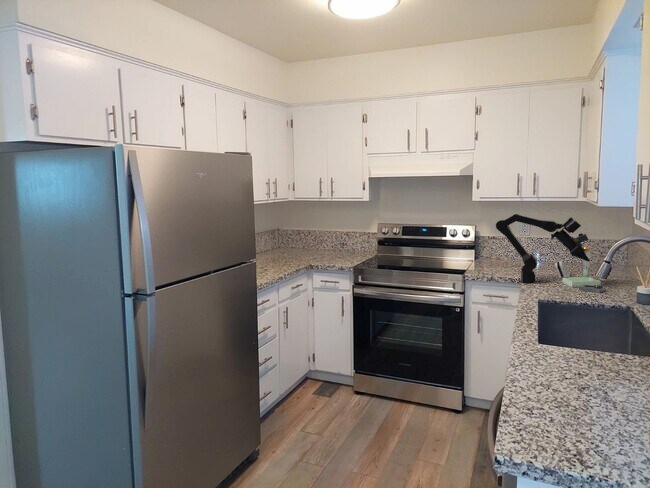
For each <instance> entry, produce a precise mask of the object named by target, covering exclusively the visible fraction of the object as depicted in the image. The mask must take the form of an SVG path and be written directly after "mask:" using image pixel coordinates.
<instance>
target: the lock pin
mask: <svg viewBox="0 0 650 488" xmlns="http://www.w3.org/2000/svg"><path fill="white" fill-rule="evenodd" d="M582 247H583V248H584V253H585V254H586V256H587V257H588V258H589V259H590V257H591V256H590V253H591V250H592V247H591V246H582ZM590 261H591V259H590ZM590 261H589V262H588V261H585V260H583V259H582V277H590V264H591V263H590Z"/></svg>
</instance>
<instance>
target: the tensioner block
mask: <svg viewBox="0 0 650 488" xmlns="http://www.w3.org/2000/svg"><path fill="white" fill-rule="evenodd" d="M578 291H580V292H588V293H589V292H590V293H595V294H596V293H597V294H600V293H604V292H606V291H607V288H606V286H603V285H602V284H601V285H582V286H579V287H578Z"/></svg>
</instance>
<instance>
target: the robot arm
mask: <svg viewBox="0 0 650 488" xmlns="http://www.w3.org/2000/svg"><path fill="white" fill-rule="evenodd" d="M515 222H517V223H522V224H526V225H529V226H534V227H537V228H539V229H541V230H544V231H545V232H549V233H550V239H551V240H553V239H556V240H558V241H559V243H561V245H562V246H563V247H565V248H566V249H567V250H568V251H569V254H570V256H572V257H575V258H578V259H580V260H582V261H583V260H585V261H588V262H589V261H591V259H589V258H588V257H587V256H586V254H585V253H584V248H583V247H584V246H583V243H582V242H586V241H588V240H589V238H588V236H587V234H586V233H582V232H580V233H579V234H578V235H577V236H576V237H574V236H572V235H571V233H572V234H574V233H575V232H576V231H578V229H579V228H581V227H582V224H581V223H579V222H578V221H577V220H576V219H574V218H573V217H569V218H568V220H567V221H565V222H564V223H559V222H558V223H557V221H554V220H545V219H537V218H533V217H528V216H526V215H521V214H519V213H515V214H513V215H511V216H509V217H507V218H506V219H500V220H498V221H497V222H496V223H495V229H496V230H498V231H499V232H500V233H501V234H502V235H503V236H505V237H506V239H507V240H508V241H509V243H510V244H511V246H513V248H514V249H515V250H516V251H517V253H518V254H519V256H520V257H521V260H522V262H523V264H524V265H523V266H522V267H521V271H520V280H519V282H520V283H522V284H536V274H535V271H534V270H535V269H536V268H537V266H538V264H539V263H538V258H536V256H535V254H534V253H531V254H530V253H529V252H528V251H527V250H526V248H525V247H524V246H523V244H522V243H521V242H520V241H519V240H518V238H517V237H516V236H515V234H514V233H513V231H512V228H511V227H510V225H512V224H515Z"/></svg>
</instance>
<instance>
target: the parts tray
mask: <svg viewBox="0 0 650 488" xmlns="http://www.w3.org/2000/svg"><path fill="white" fill-rule="evenodd" d="M561 280H562V282H561V283H562V285H563V284H564V285H566V286H567V287H570V288H579V286H582V285H602V284H601V283H602V282H601V280H598V279H596V278H593V277H591V276H581V277H579V276H576V277H570V278H568V277H562V278H561Z"/></svg>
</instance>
